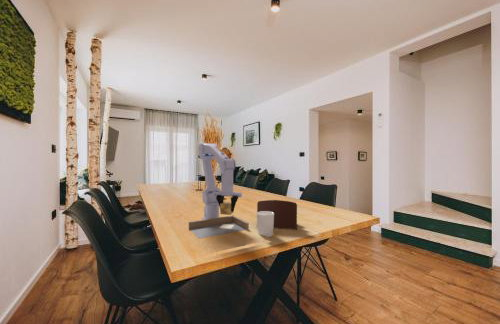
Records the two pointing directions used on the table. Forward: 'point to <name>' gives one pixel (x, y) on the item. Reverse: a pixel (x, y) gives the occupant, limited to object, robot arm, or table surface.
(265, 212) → the white cup
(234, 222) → the arena
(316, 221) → the table surface
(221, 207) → the ochre block
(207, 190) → the robot arm
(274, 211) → the letter holder
